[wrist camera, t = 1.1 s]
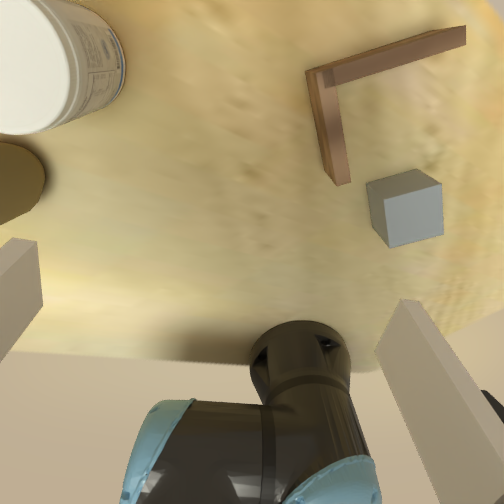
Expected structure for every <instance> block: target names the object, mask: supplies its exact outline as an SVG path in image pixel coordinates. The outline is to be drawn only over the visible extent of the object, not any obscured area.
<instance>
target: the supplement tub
mask: <svg viewBox="0 0 504 504" xmlns="http://www.w3.org/2000/svg"><path fill="white" fill-rule="evenodd" d="M124 78H125V59H124V54H123V50H122V47H121V45H120V42H119V40H118V39H117V37H116V35H115V33H114V32H113V30H112V29H111V28H110V26H109V25H108V24H107V23H106V22H105V21H104V20H103V19H102V18H101V17H100V16H98V15H97V14H96V13H94V12H93V11H91V10H89V9H87V8H86V7H83V6H81V5H79V4H76V3H73V2H70V1H67V0H0V133H3V134H9V135H25V134H31V133H39V132H43V131H46V130H49V129H52V128H55V127H57V126H60V125H62V124H65V123H67V122H70V121H72V120H75V119H77V118H80V117H82V116H85V115H87V114H90V113H92V112H95V111H97V110H99V109H102V108H104V107H106V106H107V105H109V104H110V103H111V102H112V101H114V99H115V98H116V97H117V96H118V94H119V93H120V91H121V89H122V86H123V83H124Z"/></svg>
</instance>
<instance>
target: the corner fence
mask: <svg viewBox="0 0 504 504" xmlns="http://www.w3.org/2000/svg"><path fill="white" fill-rule="evenodd" d="M464 45H466V25H464V26H458V27H451V28H445V29H438V30H432V31H429V32H426V33H423V34H420V35H417V36H413V37H410V38H407V39H404V40H401V41H398V42H395V43H392V44H388V45H385V46H382V47H379V48H376V49H373V50H370V51H367V52H364V53H360V54H357V55H354V56H351V57H348V58H345V59H342V60H339V61H335V62H332V63H329V64H326V65H323V66H320V67H317V68H314V69H311V70H307V71H305V74H306V79H307V84H308V89H309V94H310V99H311V104H312V109H313V114H314V120H315V125H316V130H317V135H318V140H319V145H320V150H321V155H322V160H323V165H324V170H325V172H326V173H327V174H328V176H329V177H330V178H331V179H332V181H333V182H334V183H335V185H336V186H340V185H343V184H347V183H350V182H351V177H350V171H349V165H348V159H347V153H346V147H345V141H344V134H343V128H342V122H341V116H340V110H339V104H338V98H337V92H336V85H340V84H343V83H346V82H349V81H352V80H356V79H359V78H362V77H365V76H368V75H372V74H375V73H378V72H381V71H384V70H387V69H391V68H394V67H397V66H400V65H403V64H407V63H410V62H413V61H416V60H419V59H423V58H426V57H429V56H432V55H435V54H438V53H442V52H445V51H448V50H451V49H454V48H458V47H461V46H464Z"/></svg>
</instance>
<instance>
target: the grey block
mask: <svg viewBox="0 0 504 504" xmlns="http://www.w3.org/2000/svg"><path fill="white" fill-rule="evenodd" d="M366 186H367V193H368V200H369V207H370V214H371V220H372V227H373V228H374V230H375V231H376V232H377V233H378V235H379V236H380V237H381V238H382V240H383V241H384V242H385V243H386V245H387V246H388V247H389V248H394V247H398V246H401V245H405V244H409V243H413V242H417V241H420V240H424V239H428V238H432V237H436V236H439V235H443V234H444V227H443V203H442V184H441V183H439V182H438V181H436V180H434V179H433V178H431V177H429V176H428V175H426V174H425V173H423V172H421V171H420V170H418V169H414V170H411V171H407V172H404V173H400V174H396V175H393V176H389V177H386V178H382V179H379V180H375V181H372V182H368V183H366Z"/></svg>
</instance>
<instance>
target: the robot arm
mask: <svg viewBox="0 0 504 504" xmlns="http://www.w3.org/2000/svg"><path fill="white" fill-rule="evenodd" d="M42 306H43V299H42V289H41V279H40V268H39V258H38V248H37V241H31V240H25V239H19V238H11V239H10V240H9V241H8V242H7V243H6V244H4V245H3V246H2V247H1V248H0V362H1V361H2V360H3V358H4V357H5V356H6V354H7V353H8V352H9V350H10V349H11V348H12V346H13V345H14V344H15V342H16V341H17V340H18V338H19V337H20V336H21V334H22V333H23V332H24V330H25V329H26V328H27V326H28V325H29V324H30V322H31V321H32V320H33V318H34V317H35V316H36V314H37V313H38V312H39V310H40V309H41V308H42ZM374 352H375V354H376V356H377V359H378V361H379V363H380V366H381V368H382V370H383V373H384V375H385V377H386V379H387V382H388V384H389V386H390V389H391V391H392V393H393V396H394V398H395V400H396V402H397V405H398V407H399V409H400V411H401V414H402V416H403V419H404V421H405V423H406V426H407V428H408V430H409V433H410V435H411V437H412V440H413V442H414V444H415V446H416V449H417V451H418V453H419V456H420V458H421V460H422V463H423V465H424V467H425V470H426V472H427V474H428V476H429V479H430V481H431V483H432V486H433V488H434V490H435V493H436V495H437V497H438V500H439V502H440V504H504V407H503V406H502V405H501V404H500V403H499V402H498V401H497V400H496V399H495V398H494V397H493V396H492V395H490V393H488V392H487V391H485V390H480V389H479V388H478V386H477V385H476V383H475V382H474V380H473V379H472V377H471V376H470V374H469V373H468V372H467V370H466V369H465V367H464V366H463V364H462V363H461V361H460V360H459V358H458V357H457V356H456V354H455V353H454V351H453V350H452V348H451V347H450V345H449V344H448V343H447V341H446V340H445V338H444V337H443V335H442V334H441V332H440V331H439V330H438V328H437V327H436V325H435V324H434V322H433V321H432V319H431V318H430V316H429V315H428V314H427V312H426V311H425V309H424V308H423V306H422V305H421V303H420V302H418V301H412V300H406V299H400V301H399V303H398V305H397V307H396V309H395V311H394V313H393V315H392V317H391V319H390V321H389V323H388V325H387V326H386V328H385V330H384V332H383V334H382V336H381V338H380V340H379V342H378V344H377V346H376V348H375V350H374ZM249 361H250V375H251V379H252V382H253V384H254V386H255V388H256V391H257V393H258V395H259V397H260V399H261V401H262V404H263V405H258V404H241V403H227V402H212V401H197V400H196V399H194V398H192V399H190V400H164V401H161V402H158V403H157V404H156V405H154V406H153V407H152V409H151V410H150V411H149V413H148V414H147V416H146V418H145V420H144V422H143V424H142V426H141V428H140V431H139V433H138V436H137V439H136V441H135V444H134V447H133V450H132V453H131V456H130V460H129V463H128V466H127V470H126V474H125V478H124V482H123V490H122V494H121V498H120V503H119V504H382V496H381V491H380V487H379V483H378V480H377V475H376V471H375V464H374V460H373V459H372V458H371V456H370V453H369V450H368V447H367V444H366V441H365V438H364V435H363V432H362V429H361V426H360V424H359V420H358V417H357V414H356V412H355V409H354V406H353V403H352V400H351V397H350V394H349V387H350V370H351V361H350V356H349V353H348V350H347V347H346V345H345V342H344V340H343V339H342V337H341V336H340V335H339V334H338V333H337V332H336V331H334V330H333V329H331V328H330V327H328V326H326V325H323V324H320V323H316V322H311V321H295V322H289V323H285V324H282V325H279V326H277V327H274V328H272V329H271V330H269V331H267V332H266V333H265V334H263V335H262V336H261V337H260V338H259V339H258V340H257V342H256V343H255V345H254V346H253V348H252V351H251V354H250V360H249Z"/></svg>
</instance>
